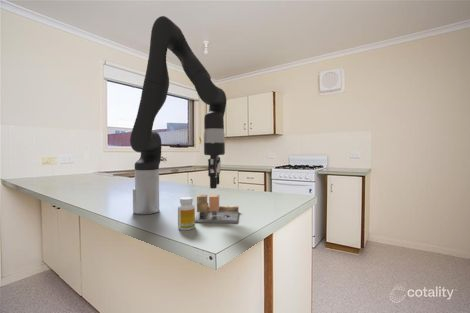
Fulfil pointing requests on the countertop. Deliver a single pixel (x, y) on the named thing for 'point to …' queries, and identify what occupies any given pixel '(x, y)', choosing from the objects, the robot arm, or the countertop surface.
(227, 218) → the bolt plate
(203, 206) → the gauge rule
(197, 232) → the countertop surface
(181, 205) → the supplement bottle
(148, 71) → the robot arm
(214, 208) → the block
